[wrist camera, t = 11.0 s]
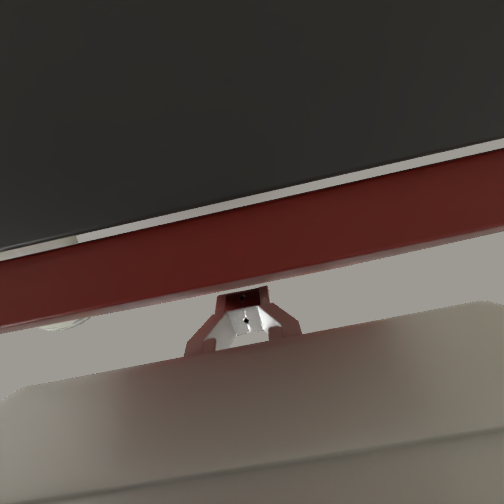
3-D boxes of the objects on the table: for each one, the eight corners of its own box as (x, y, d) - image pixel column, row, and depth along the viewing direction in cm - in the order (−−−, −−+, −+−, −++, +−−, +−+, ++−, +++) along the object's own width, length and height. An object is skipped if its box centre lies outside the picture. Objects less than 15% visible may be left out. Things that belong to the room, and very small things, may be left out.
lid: (340, 254, 17) (343, 266, 17) (161, 291, 18) (163, 302, 17) (728, 95, 2) (767, 172, 2) (-335, 334, 3) (-343, 398, 3)
